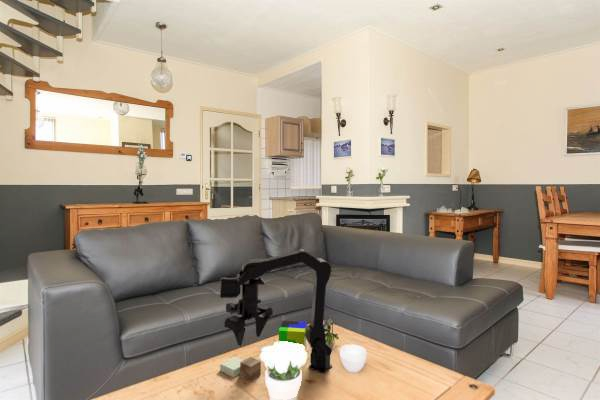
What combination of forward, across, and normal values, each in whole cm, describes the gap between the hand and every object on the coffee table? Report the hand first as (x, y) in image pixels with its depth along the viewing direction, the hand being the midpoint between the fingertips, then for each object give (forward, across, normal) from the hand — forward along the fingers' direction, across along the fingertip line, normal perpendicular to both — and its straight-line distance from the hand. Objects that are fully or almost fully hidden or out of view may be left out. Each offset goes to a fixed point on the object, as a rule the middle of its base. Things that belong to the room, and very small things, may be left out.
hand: (249, 340), depth 127 cm
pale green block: (+12, +1, -6) cm, 14 cm away
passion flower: (+12, -39, +8) cm, 42 cm away
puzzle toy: (+12, -24, +2) cm, 27 cm away
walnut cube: (+12, 0, +1) cm, 12 cm away
